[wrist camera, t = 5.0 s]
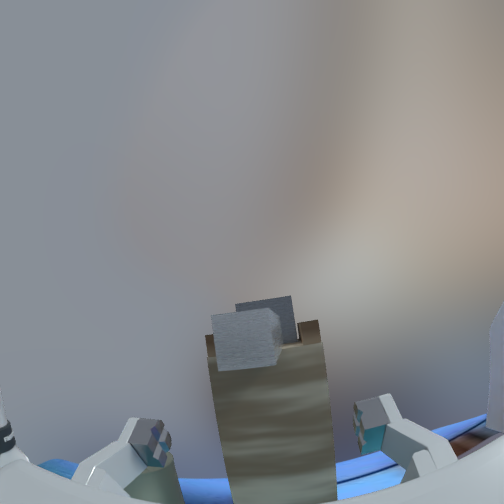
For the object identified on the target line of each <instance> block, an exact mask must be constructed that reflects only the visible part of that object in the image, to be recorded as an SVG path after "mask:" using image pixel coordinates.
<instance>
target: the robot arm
mask: <svg viewBox="0 0 504 504" xmlns="http://www.w3.org/2000/svg"><path fill="white" fill-rule="evenodd" d="M354 411H355V414H354V415H353V426H354V431H355V435H356V436H358V445H359V449H360V452H361V455H362V454H366V453H370V452H374V451H378V450H381V451H382V452H383V453H384V454H386V455H387V456H388V457H390V458H391V459H392V460H394V461H395V462H396V463H398V464H399V465H400V466H402V467H403V468H404V469H406V472H405V475H404V477H403V479H402V481H401V483H400V484H399V485H395V486H392V487H389V488H386V489H383V490H379V491H376V492H372V493H368V494H364V495H360V496H356V497H352V498H347V499H342V500H337V501H332V502H327V503H321V504H504V435H502V436H500V437H499V438H497V439H496V440H494V441H492V442H491V443H489V444H487V445H485V446H484V447H482V448H480V449H479V450H477V451H475V452H473V453H471V454H469V455H467V456H465V457H464V458H461V459H459V460H458V459H457V457H456V455H455V453H454V451H453V449H452V447H451V445H450V443H449V442H448V440H447V439H446V438H444V437H442V436H439V435H437V434H435V433H433V432H431V431H429V430H427V429H425V428H423V427H421V426H419V425H417V424H416V423H413V422H411V421H410V420H408V419H402V417H401V415H400V413H399V411H398V408H397V407H396V404H395V402H394V400H393V398H392V397H391V394H385V395H381V396H378V397H374V398H370V399H366V400H362V401H358V402H355V403H354ZM170 447H171V436H170V434H169V432H168V431H167V430H165V429H164V423H163V422H162V420H154V419H144V418H133V417H131V418H130V419H128V421H127V423H126V425H125V427H124V429H123V431H122V433H121V435H120V437H119V439H118V441H114V442H112V443H111V444H110V445H108V446H106V447H105V448H103V449H102V450H100V451H98V452H97V453H95V454H94V455H92V456H90V457H89V458H87V459H85V460H84V461H82V462H81V463H80V464H79V466H78V468H77V470H76V472H75V473H74V475H73V477H72V479H71V480H70V479H67V478H64V477H62V476H59V475H57V474H54V473H52V472H50V471H47V470H45V469H43V468H41V467H38V466H36V465H34V464H32V463H30V462H29V459H28V457H27V456H25V455H24V453H23V452H22V451H21V450H20V449H19V448H18V447H17V445H16V441H15V438H14V433H13V429H12V428H11V425H10V422H9V421H8V420H7V418H6V413H5V409H4V404H3V399H2V394H1V388H0V504H161V503H155V502H149V501H144V500H139V499H135V498H131V497H130V495H129V494H128V493H127V492H126V491H125V490H123V489H124V488H125V487H126V486H127V485H129V484H130V483H131V482H132V481H133V480H134V479H135V478H136V477H137V476H138V475H140V474H141V473H142V472H143V471H144V470H145V469H146V468H147V466H151V467H161V468H164V466H165V463H166V460H167V455H166V452H168V451H169V450H170Z"/></svg>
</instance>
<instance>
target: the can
mask: <svg viewBox="0 0 504 504" xmlns="http://www.w3.org/2000/svg"><path fill="white" fill-rule="evenodd" d="M166 455H167V460H166V463H165V466H164V468H161V467H151V466H147V468H146V469H145V470H144V471H143V472H142V473H141V474H140V475H138V476H137V477H136V478H135V479H134V480H133V481H132V482H131V483H130V484H129V485H127V486H126V487H125V488H124V489H123V490H125V491H126V492H127V493H128V494H129V495H130V497H131V498H135V499H139V500H144V501H149V502H155V503H161V504H185V502H184V499H183V495H182V492H181V488H180V485H179V481H178V477H177V473H176V469H175V465H174V458H173V455H172V454H171V453H170V452H166Z"/></svg>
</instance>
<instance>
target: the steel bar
mask: <svg viewBox="0 0 504 504" xmlns="http://www.w3.org/2000/svg"><path fill="white" fill-rule="evenodd" d="M235 306H236V312H233V313H225V314H218V315H211V320H212V327H213V336H214V343H215V351H216V358H217V365H218V371H229V370H240V369H249V368H258V367H266V366H274V365H276V364H277V361H278V359H279V356H280V353H281V350H282V347H283V345H284V344H289V343H295V342H298V340H297V333H296V326H295V319H294V313H293V307H292V300H291V296H285V297H280V298H273V299H267V300H260V301H253V302H246V303H239V304H235Z"/></svg>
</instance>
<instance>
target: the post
mask: <svg viewBox="0 0 504 504" xmlns="http://www.w3.org/2000/svg"><path fill="white" fill-rule="evenodd" d="M297 324H298V332H299V339H297V340H298V342H295V343H289V344H284V345H283V347H282V350H281V353H280V356H279V359H278V361H277V364H276V365H274V366H266V367H258V368H249V369H240V370H229V371H218V365H217V358H216V351H215V343H214V336H213V334H212V335H205V337H206V345H207V353H208V357H207V360H208V368H209V375H210V382H211V388H212V394H213V401H214V407H215V413H216V419H217V424H218V430H219V436H220V441H221V446H222V451H223V456H224V461H225V466H226V471H227V476H228V481H229V485H230V490H231V494H232V499H233V503H234V504H321V503H327V502H332V501H337V481H336V465H335V451H334V441H333V428H332V417H331V407H330V398H329V389H328V381H327V373H326V365H325V357H324V350H323V343H322V342H321V337H320V330H319V323H318V320H313V321H307V322H301V323H297Z"/></svg>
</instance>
